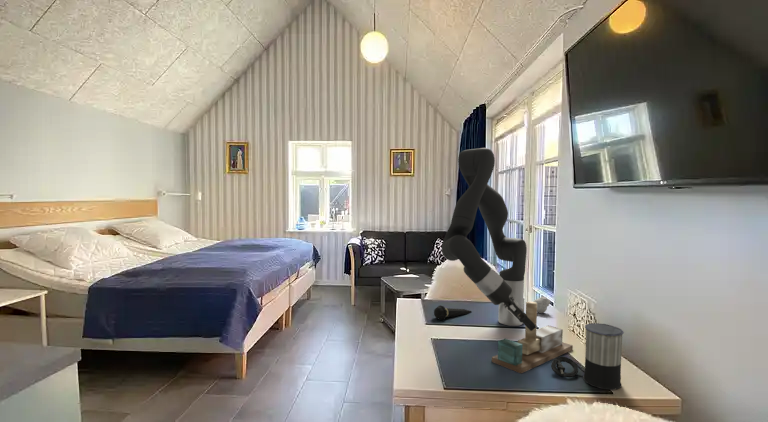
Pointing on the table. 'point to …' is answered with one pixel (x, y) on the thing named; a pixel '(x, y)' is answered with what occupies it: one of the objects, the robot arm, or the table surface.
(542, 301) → the frog figurine
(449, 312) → the microphone
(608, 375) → the milk frother
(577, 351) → the table surface
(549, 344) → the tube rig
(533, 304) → the cream l-shaped piece
